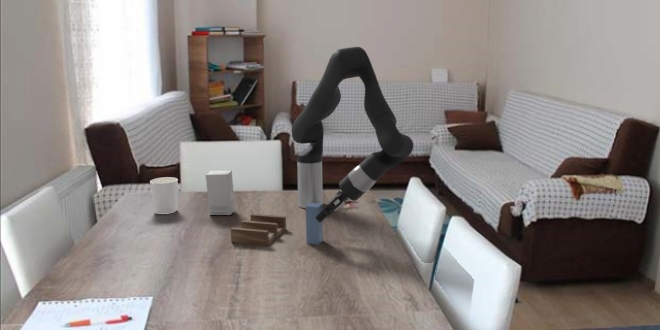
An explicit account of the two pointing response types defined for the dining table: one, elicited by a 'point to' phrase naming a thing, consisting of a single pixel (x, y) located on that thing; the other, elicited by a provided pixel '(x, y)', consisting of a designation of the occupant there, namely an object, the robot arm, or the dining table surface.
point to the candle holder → (165, 194)
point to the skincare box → (220, 192)
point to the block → (313, 224)
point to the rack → (259, 230)
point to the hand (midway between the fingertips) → (321, 215)
